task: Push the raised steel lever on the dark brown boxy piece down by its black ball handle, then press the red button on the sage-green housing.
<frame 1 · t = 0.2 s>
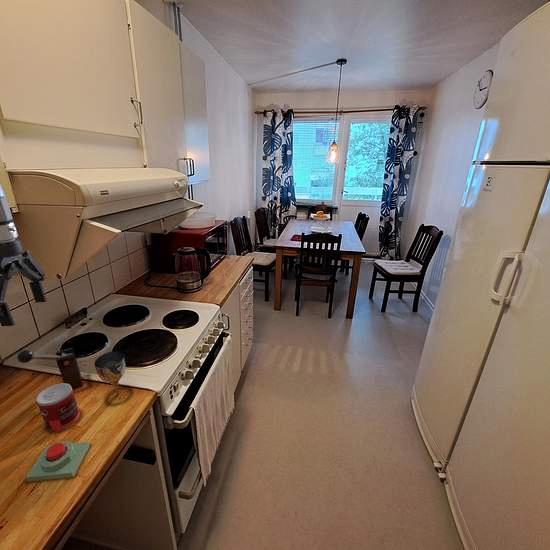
hand: (26, 312, 81), 30 cm above the worktop, tool pointing down, fingers open, 13 cm apart
canned food: (64, 422, 82), on the worktop
dark brown boxy piece: (75, 387, 95), on the worktop
button: (56, 452, 69), point 4 cm above the worktop, slide at 0.1 cm
button box: (61, 464, 71), on the worktop
lever: (45, 357, 87), point 14 cm above the worktop, hinge at 28.0°
wine glass: (119, 398, 91), on the worktop
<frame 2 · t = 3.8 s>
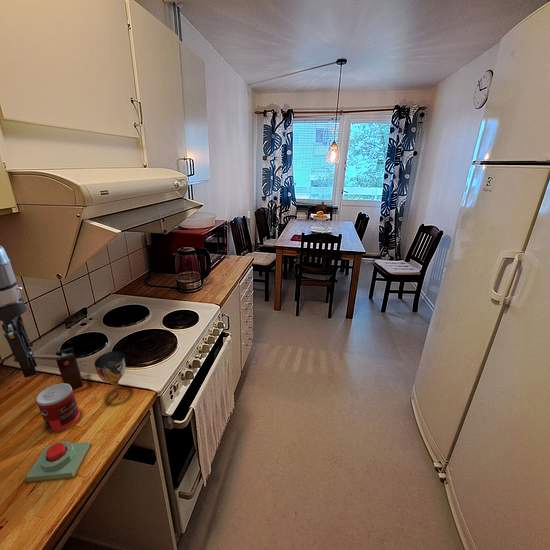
hand: (31, 371, 85), 11 cm above the worktop, tool pointing down, fingers closed on lever, 4 cm apart
lever: (45, 357, 87), point 14 cm above the worktop, hinge at 28.0°, touching gripper
everything else where it was.
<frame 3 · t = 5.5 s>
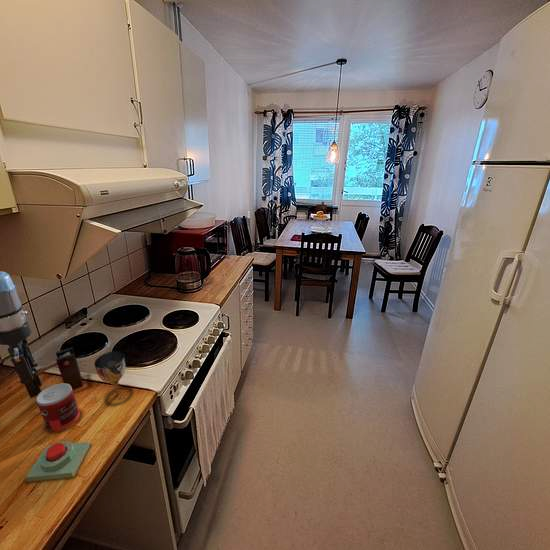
hand: (36, 390, 88), 4 cm above the worktop, tool pointing down, fingers closed on lever, 4 cm apart
lever: (47, 367, 88), point 11 cm above the worktop, hinge at -12.9°, touching gripper
everything else where it was.
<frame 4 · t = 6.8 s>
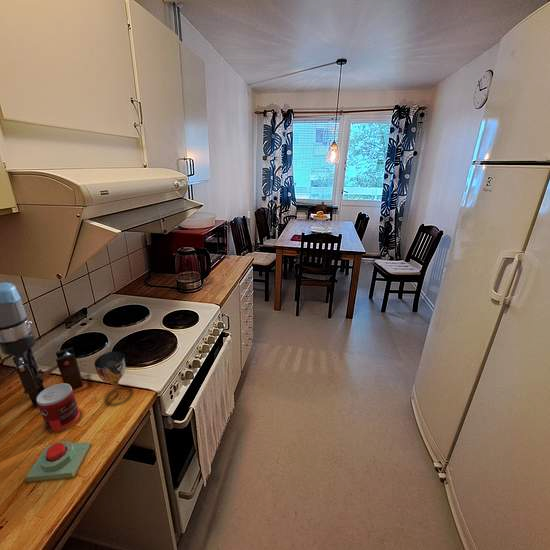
hand: (39, 398, 89), 1 cm above the worktop, tool pointing down, fingers open, 5 cm apart
lever: (50, 370, 89), point 9 cm above the worktop, hinge at -29.4°
everything else where it was.
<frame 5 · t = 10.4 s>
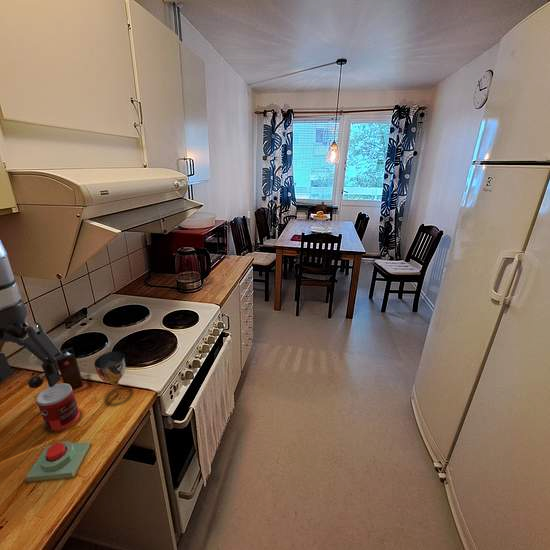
hand: (30, 380, 71), 20 cm above the worktop, tool pointing down, fingers open, 13 cm apart
nothing on the worktop moved.
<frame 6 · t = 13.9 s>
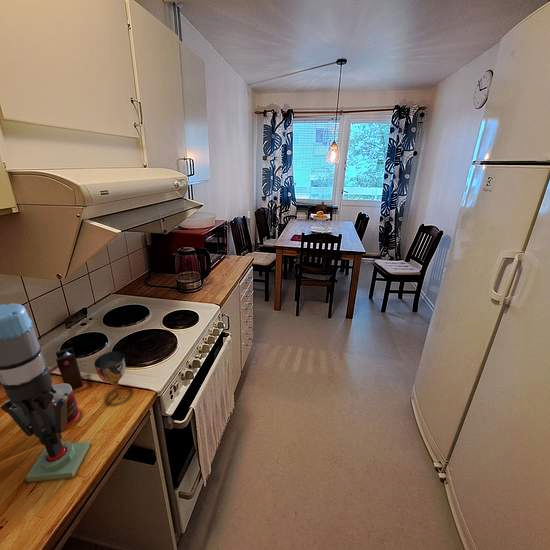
hand: (56, 451, 69), 5 cm above the worktop, tool pointing down, fingers closed
button: (57, 454, 69), point 4 cm above the worktop, slide at -0.8 cm, touching gripper
everything else where it was.
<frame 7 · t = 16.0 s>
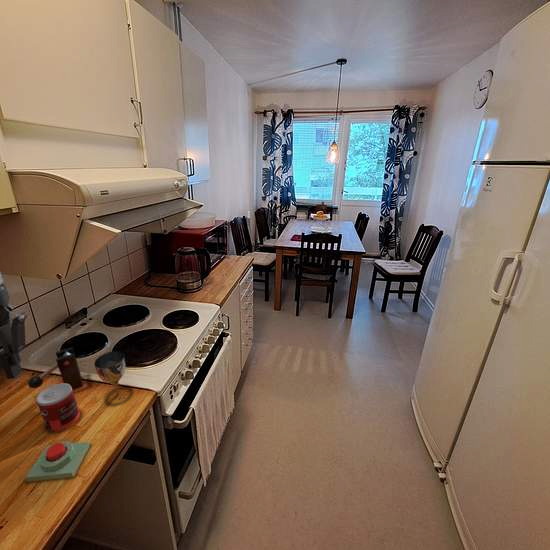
hand: (15, 374, 70), 21 cm above the worktop, tool pointing down, fingers closed
button: (56, 452, 69), point 4 cm above the worktop, slide at 0.1 cm
everything else where it was.
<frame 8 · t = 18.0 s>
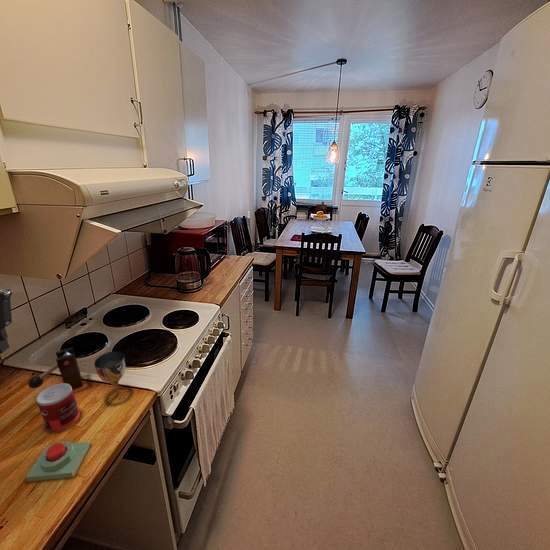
hand: (2, 350, 74), 24 cm above the worktop, tool pointing down, fingers closed
nothing on the worktop moved.
at the end: lever at -29° (first picture: +28°); button pushed in 1.0 cm at the most during the clip, back to where it started at the end; button slide at 0.1 cm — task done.
